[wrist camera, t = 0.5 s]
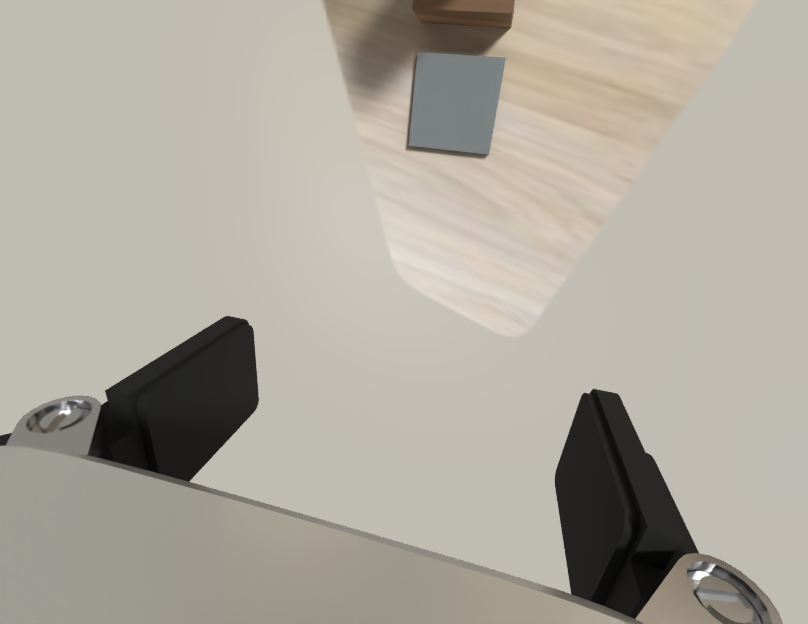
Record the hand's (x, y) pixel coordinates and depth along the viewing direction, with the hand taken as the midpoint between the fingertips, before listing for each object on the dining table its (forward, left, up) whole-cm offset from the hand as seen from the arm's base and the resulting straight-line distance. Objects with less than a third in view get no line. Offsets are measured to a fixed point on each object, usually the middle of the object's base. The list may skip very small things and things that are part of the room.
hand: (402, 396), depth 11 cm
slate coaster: (-9, -3, -28) cm, 30 cm away
